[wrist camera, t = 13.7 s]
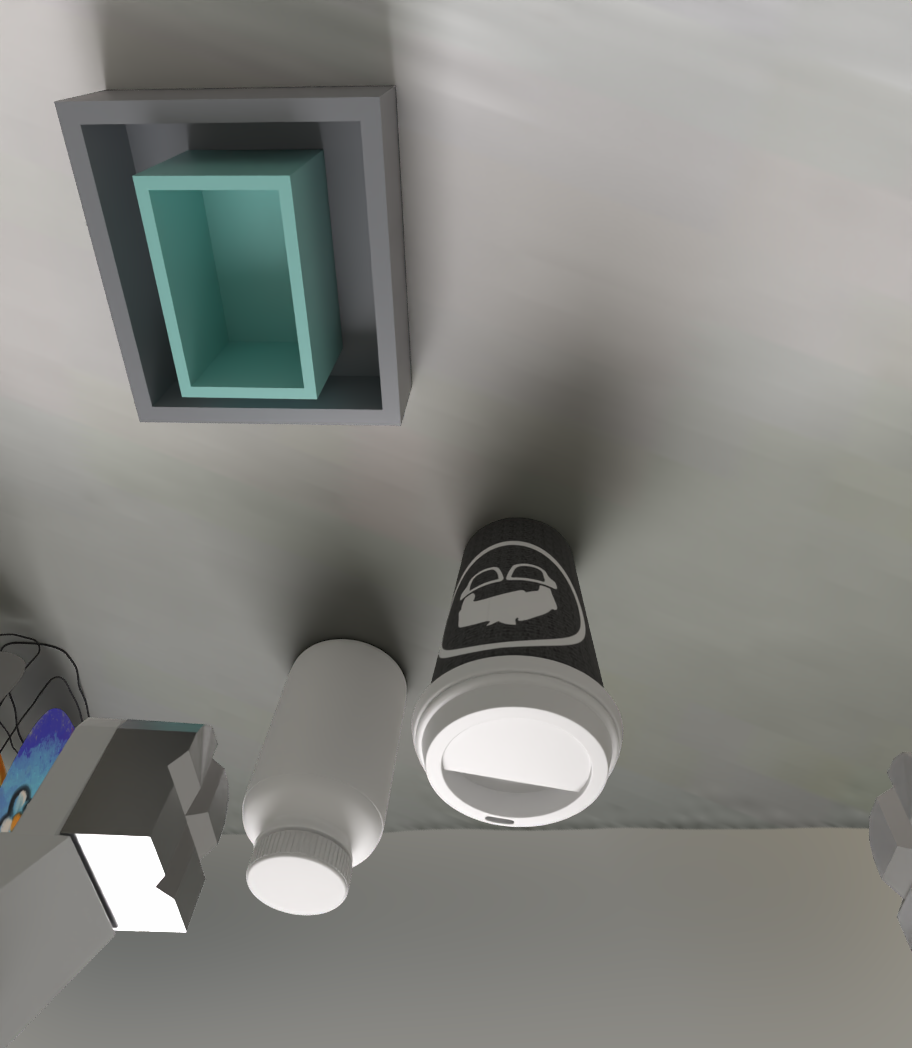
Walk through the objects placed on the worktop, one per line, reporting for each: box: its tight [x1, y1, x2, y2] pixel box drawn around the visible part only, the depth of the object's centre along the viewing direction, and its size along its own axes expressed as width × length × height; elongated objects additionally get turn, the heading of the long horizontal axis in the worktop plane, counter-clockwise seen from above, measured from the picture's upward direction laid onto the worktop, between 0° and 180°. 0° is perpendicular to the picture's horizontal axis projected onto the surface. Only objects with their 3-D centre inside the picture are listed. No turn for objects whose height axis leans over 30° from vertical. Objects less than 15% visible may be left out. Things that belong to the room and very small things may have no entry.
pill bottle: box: [242, 639, 407, 915], centre depth 47 cm, size 8×8×15 cm
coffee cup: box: [411, 518, 623, 827], centre depth 40 cm, size 10×10×15 cm
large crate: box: [54, 86, 412, 426], centre depth 35 cm, size 13×14×4 cm
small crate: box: [132, 149, 343, 399], centre depth 34 cm, size 6×9×6 cm, turn 1°
